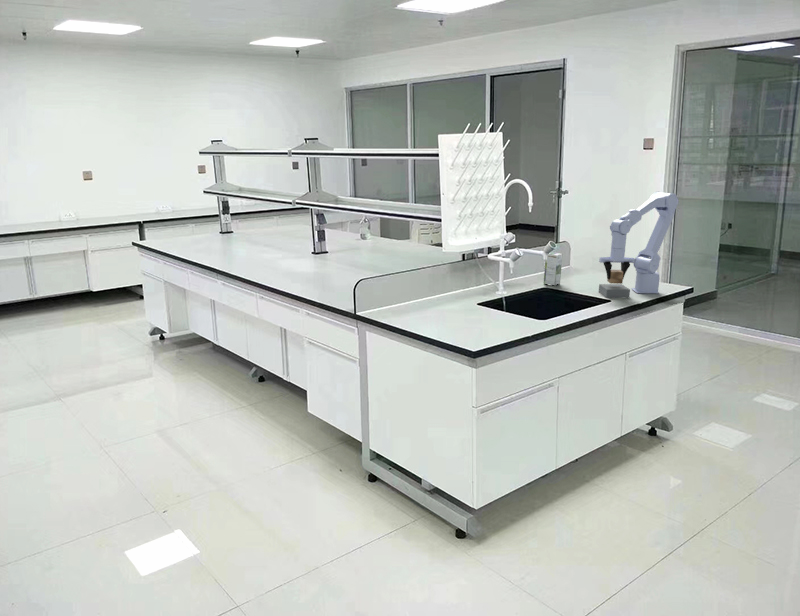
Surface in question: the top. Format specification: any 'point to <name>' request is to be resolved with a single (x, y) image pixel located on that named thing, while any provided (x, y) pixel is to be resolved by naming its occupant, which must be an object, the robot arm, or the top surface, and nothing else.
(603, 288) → the charcoal base block
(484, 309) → the top surface
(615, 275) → the walnut cube
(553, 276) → the syrup box
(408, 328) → the top surface
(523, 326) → the top surface
